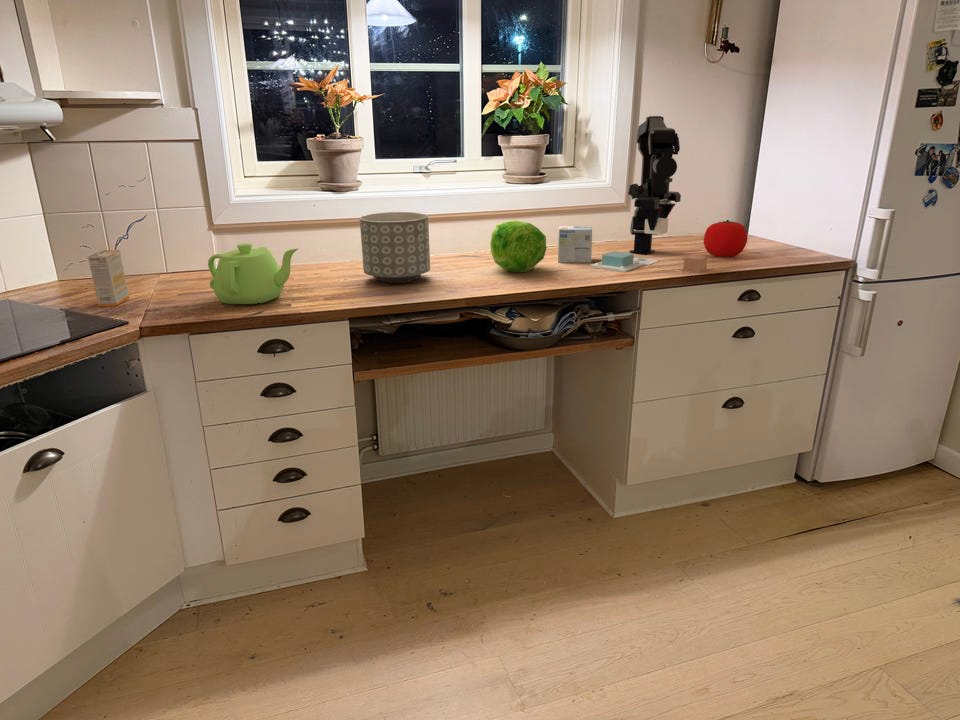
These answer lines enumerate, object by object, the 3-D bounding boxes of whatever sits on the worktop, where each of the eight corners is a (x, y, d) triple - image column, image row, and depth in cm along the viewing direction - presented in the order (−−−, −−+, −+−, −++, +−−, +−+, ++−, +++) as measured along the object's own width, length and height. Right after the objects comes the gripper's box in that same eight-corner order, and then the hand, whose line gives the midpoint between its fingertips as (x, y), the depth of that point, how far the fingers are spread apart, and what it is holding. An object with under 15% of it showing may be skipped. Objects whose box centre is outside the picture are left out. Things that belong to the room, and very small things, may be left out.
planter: (403, 269, 208) (399, 209, 202) (444, 279, 195) (442, 215, 189) (351, 280, 196) (346, 217, 190) (391, 291, 183) (387, 223, 177)
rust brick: (690, 268, 206) (691, 254, 205) (706, 270, 203) (707, 256, 202) (683, 270, 203) (684, 257, 201) (699, 273, 200) (700, 259, 198)
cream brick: (651, 230, 205) (652, 217, 204) (667, 232, 202) (668, 218, 201) (644, 233, 202) (645, 219, 200) (659, 234, 199) (661, 220, 197)
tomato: (717, 261, 214) (721, 224, 210) (694, 253, 226) (698, 218, 222) (753, 259, 217) (758, 222, 213) (729, 251, 229) (733, 216, 225)
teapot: (204, 298, 180) (196, 243, 175) (277, 286, 191) (271, 234, 186) (227, 313, 166) (219, 254, 161) (305, 299, 177) (299, 244, 172)
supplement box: (111, 298, 180) (101, 249, 175) (129, 298, 180) (120, 249, 176) (97, 307, 172) (86, 256, 168) (117, 306, 172) (106, 255, 168)
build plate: (610, 260, 217) (610, 249, 216) (644, 265, 210) (645, 253, 209) (590, 266, 209) (590, 255, 207) (625, 272, 201) (625, 260, 200)
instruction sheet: (630, 257, 221) (630, 256, 221) (658, 261, 215) (659, 260, 215) (619, 261, 216) (619, 260, 216) (648, 265, 210) (648, 264, 210)
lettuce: (526, 269, 217) (530, 221, 214) (552, 276, 199) (556, 223, 195) (477, 267, 212) (480, 217, 209) (498, 274, 193) (502, 220, 190)
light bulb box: (590, 258, 220) (592, 225, 217) (591, 263, 214) (593, 228, 210) (557, 258, 221) (558, 225, 218) (557, 262, 215) (558, 228, 211)
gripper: (648, 171, 208) (645, 222, 213) (619, 176, 194) (616, 230, 200) (683, 172, 201) (678, 225, 206) (655, 178, 188) (651, 234, 193)
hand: (655, 229), depth 202 cm, fingers closed on cream brick, 5 cm apart
